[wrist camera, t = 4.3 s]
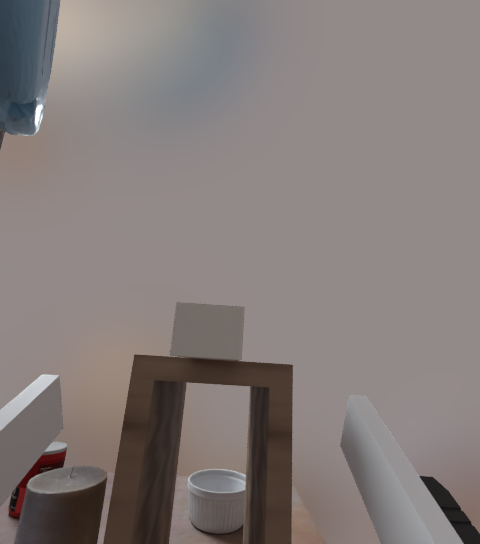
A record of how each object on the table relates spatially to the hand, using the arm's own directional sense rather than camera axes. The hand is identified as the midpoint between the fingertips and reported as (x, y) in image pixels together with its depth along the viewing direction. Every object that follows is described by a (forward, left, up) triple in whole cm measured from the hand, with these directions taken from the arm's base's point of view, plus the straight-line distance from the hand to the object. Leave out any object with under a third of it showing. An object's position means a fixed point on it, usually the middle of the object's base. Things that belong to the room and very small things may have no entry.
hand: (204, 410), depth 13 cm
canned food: (-65, +14, -28) cm, 72 cm away
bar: (-12, +11, +2) cm, 17 cm away
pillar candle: (-37, +9, -28) cm, 47 cm away
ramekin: (-39, +40, -28) cm, 63 cm away
